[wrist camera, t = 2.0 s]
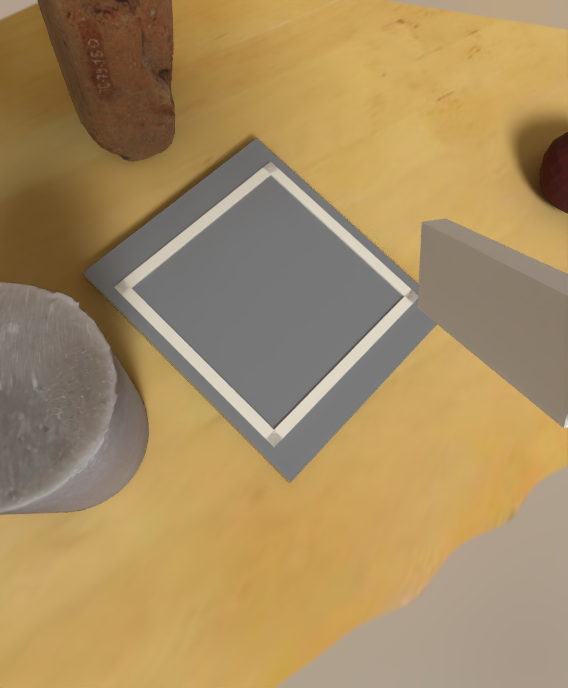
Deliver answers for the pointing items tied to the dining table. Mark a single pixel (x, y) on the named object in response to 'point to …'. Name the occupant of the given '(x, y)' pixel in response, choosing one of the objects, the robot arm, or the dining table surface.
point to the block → (117, 70)
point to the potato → (556, 173)
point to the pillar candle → (62, 407)
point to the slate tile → (266, 304)
